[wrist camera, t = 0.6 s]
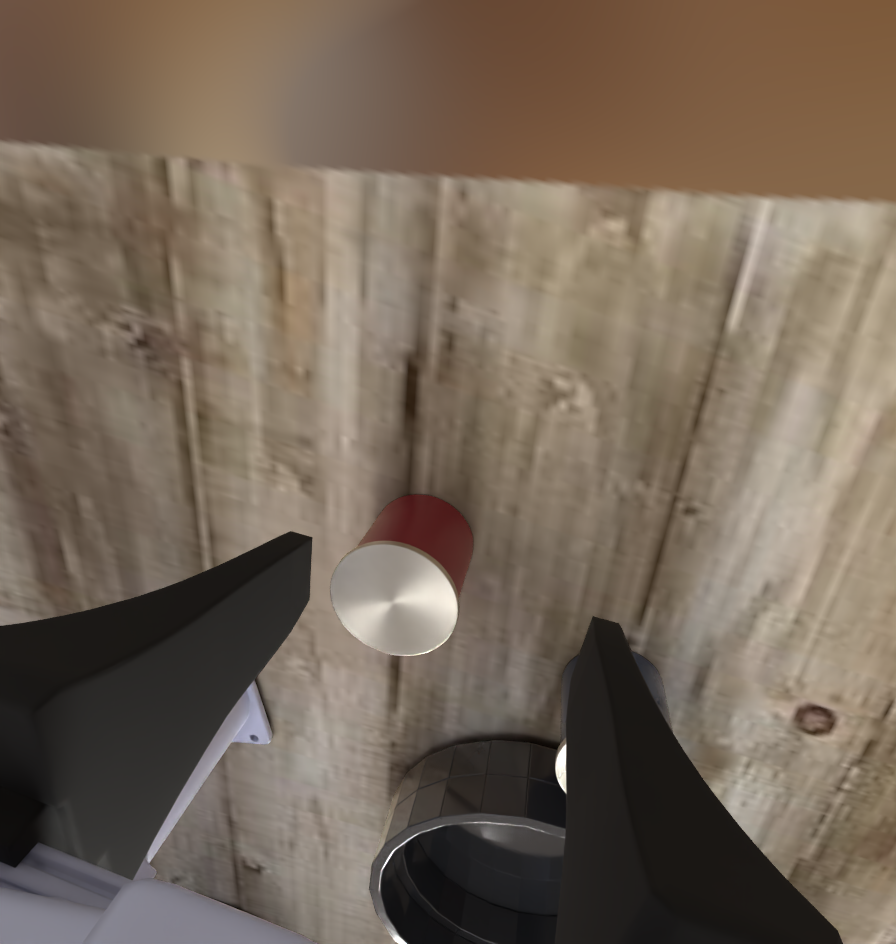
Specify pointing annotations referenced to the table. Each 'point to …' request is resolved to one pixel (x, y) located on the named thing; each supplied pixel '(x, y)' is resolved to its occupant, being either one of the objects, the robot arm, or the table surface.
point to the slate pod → (646, 670)
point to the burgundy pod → (405, 577)
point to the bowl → (473, 848)
